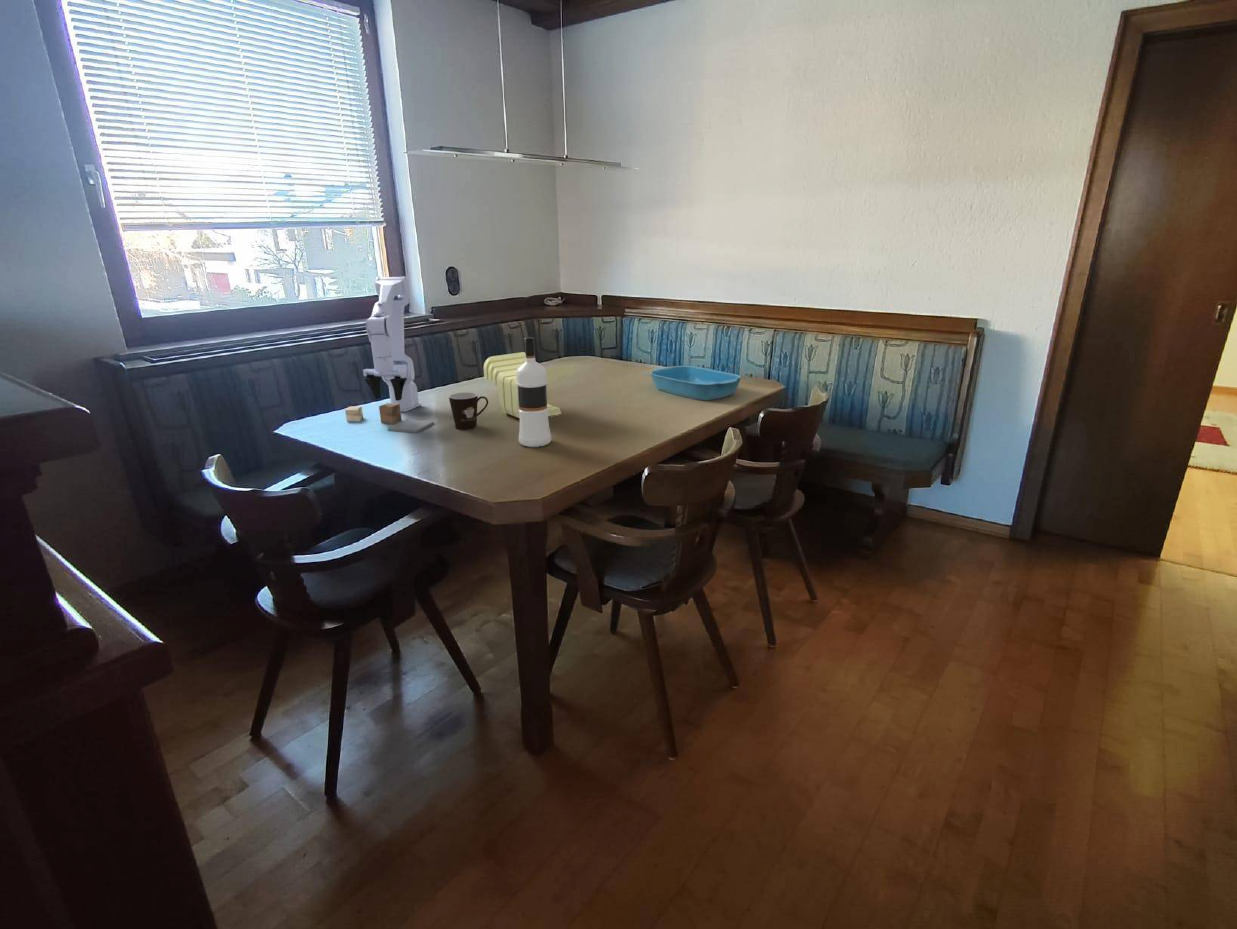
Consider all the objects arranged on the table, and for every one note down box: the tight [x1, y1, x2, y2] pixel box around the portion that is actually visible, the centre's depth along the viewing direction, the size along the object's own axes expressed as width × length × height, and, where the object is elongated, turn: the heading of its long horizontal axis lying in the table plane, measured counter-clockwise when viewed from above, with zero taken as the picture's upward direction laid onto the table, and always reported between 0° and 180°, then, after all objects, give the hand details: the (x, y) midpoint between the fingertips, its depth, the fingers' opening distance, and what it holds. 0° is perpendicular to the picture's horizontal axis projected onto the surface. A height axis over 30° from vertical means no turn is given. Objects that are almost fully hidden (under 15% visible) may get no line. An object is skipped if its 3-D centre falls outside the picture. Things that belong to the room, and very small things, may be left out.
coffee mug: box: [448, 391, 489, 431], centre depth 200 cm, size 12×9×10 cm
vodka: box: [516, 336, 552, 448], centre depth 180 cm, size 9×9×30 cm
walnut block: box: [378, 402, 403, 425], centre depth 208 cm, size 4×4×6 cm
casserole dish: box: [650, 365, 742, 401], centre depth 241 cm, size 37×22×7 cm, turn 39°
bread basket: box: [483, 351, 576, 419], centre depth 212 cm, size 30×16×18 cm, turn 39°
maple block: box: [344, 405, 364, 422], centre depth 211 cm, size 4×4×4 cm
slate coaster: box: [387, 418, 435, 434], centre depth 202 cm, size 10×10×1 cm
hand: (388, 399), depth 206 cm, fingers open, 7 cm apart
